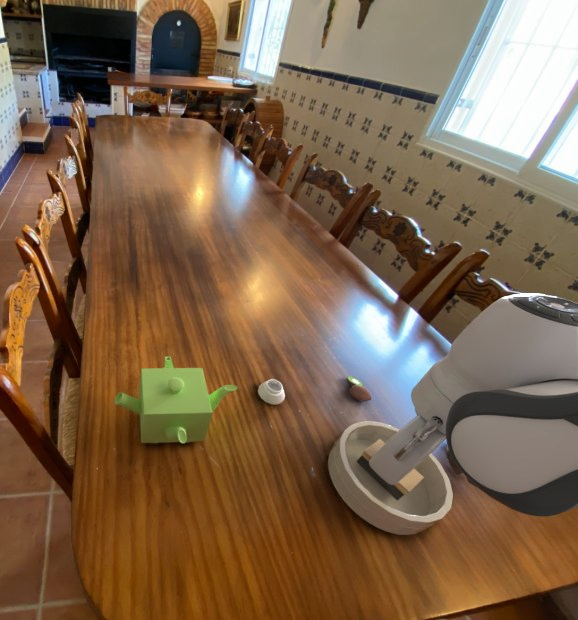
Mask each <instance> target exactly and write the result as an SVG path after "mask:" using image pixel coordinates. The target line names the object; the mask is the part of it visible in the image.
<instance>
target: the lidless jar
mask: <svg viewBox="0 0 578 620" xmlns="http://www.w3.org/2000/svg"><path fill="white" fill-rule="evenodd" d="M257 394H258V396H259V397H260V399H261V400H263V401H264V402H265V403H266V404H269V405H276V406H277V405H280V404H282V403H283V402H284V400H285V397H286V394H285V390H284V387H283V384H282V382H281V381H279V380H277V379H276V378H275V379H274V378H271V379H268V380H266V381H264V382H262V383H261V384H259V385H258V388H257Z"/></svg>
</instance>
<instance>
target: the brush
mask: <svg viewBox="0 0 578 620" xmlns="http://www.w3.org/2000/svg"><path fill="white" fill-rule="evenodd" d="M384 444H385V443H384V442H383V441H382V440H381V439H379V440H377V441H376V442H375V443H374V444H372V445H371V446H370V447H369V448H367V449H366V450H365V451H364V452H363V453H362V454H361V455H362V456H361V457H360V458H359V459H358V460H357V461H356V462H357V463H358V464H359V465H360V466H361V467H362V468H363V469H365V470H366V471H367V472H368V473H369V474H370V475H371V476H372V477H373V478H374V479H375V480H376V481H377V482H378V483H379V484H380V485H381V486H382V487H383V488H384V489H386V490H387V491H388V492H389V493H390V494H391V495H392V496H393V497H394V498H395V499H396V500H399V499H400V498H401V497H402V496H404V495H406V494H408V493H409V492H410V491H411V490H412V489H413V488H414V487H415V486H416V485H417V484H418V483H419V482H420V481H421V480H422V479H423V478H424V477H423V476H422V475H421V474H420V473H419V472H417V471H416V470H415V469H413V470H412V471H411V472H409V473H408V474H407V475H406V476H405V477H404V478H403V479H402V480H400V481H399V482H398V483H397V484H395V485H390V484H389V483H387V482H386V481H385V480H383V479H382V478H381V477H380V476H379V475H378V474H377V473H376V472H375V471H374V470H373V469H372V468H371V467H370V465H369V461H370V459H371V458H372V457H373V456H374V455H375V454H376V453H377V452H378V451H379V450H380V449H381V447H382V446H383V445H384Z"/></svg>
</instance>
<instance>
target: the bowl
mask: <svg viewBox="0 0 578 620" xmlns="http://www.w3.org/2000/svg"><path fill="white" fill-rule="evenodd" d="M399 430H400V428H398V427H395V426H392V425H389V424H386V423H383V422H379V421H372V420H371V421H370V420H365V421H359V422H354V423H352V424H351V425H349V426H348V427H346V428H345V429H343V431H342V433H341V434H340V435H339V437H338V438H337V439H336V440H335V442H334V444H333V446H332V447H331V449H330V450H329V453H328V459H327V468H328V472H329V476H330V479H331V482H332V485H333V487H334V488H335V490H336V492H337V493H338V495H339V496H340V497H341V499H342V501H343V502H344V503H345V504H346V505H347V506H348V507H349V508H350V510H352V511H353V512H354V513H355V514H356V515H357V516H358V517H360V518H361V519H363V520H364V521H366V522H367V523H368V524H370V525H372V526H374V527H375V528H377V529H379V530H382V531H384V532H387V533H390V534H395V535H398V536H399V535H400V536H410V535H411V536H413V535H416V534H419V533H421V532H423V531H426V530H427V529H429V528H431V526H433V525H435V524H436V523H438V522H439V521H440V520H442V519H443V518H444V517H445V516H446V515H447V514H448V513H449V512H450V511H451V509H452V504H453V497H454V492H453V489H452V485H451V481H450V480H451V479H450V478H449V477H448V475H447V472H445V471H446V470H445V469H444V468H443V466H442V464H441V463H440V461H439V460H438V458H436V456H434V454H433V452H431V453H430V454H429V455H428V456H427V457H426V458H425V459H424V460H423V461H422V462H421V463H419V464H418V465H417V466H416V467H415V468H414V469H415V470H416V471H417V472H419V473H420V474H421V475H422V476H423V477H424V478H423V479H422V480H421V481H420V482H419V483H418V484H417V485H416V486H415V487H414V488H413V489H412V490H411V491H410V492H409V493H408V494H406V495H404V496H402V497H401V498H400V499H399V500H396V499H395V498H394V497H393V496H392V495H391V494H390V493H389V492H388V491H387V490H386V489H384V488H383V487H382V486H381V485H380V484H379V483H378V482H377V481H376V480H375V479H374V478H373V477H372V476H371V475H370V474H369V473H368V472H367V471H366V470H365V469H363V468H362V467H361V466H360V465H359V464H358V463H357V462H356V461H357V460H358V459H359V458H360V457H361V456H362V455H361V454H362V453H363V452H364V451H365V450H366V449H367V448H369V447H370V446H371V445H372V444H374V443H375V442H376V441H377V440H379V439H381V440H382V441H383V442H384V443H386V442H387V441H388V440H389V439H390V438H391V437H392V436H393V435H395V434H396V433H397V432H398V431H399Z"/></svg>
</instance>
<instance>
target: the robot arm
mask: <svg viewBox="0 0 578 620" xmlns="http://www.w3.org/2000/svg"><path fill="white" fill-rule="evenodd" d="M410 399H411V403H412V405H413V407H414V412H415V414H416V416H414V417H413V419H411V420H410V421H409V422H407V423H406V424H405V425H404V426H402V427H401V428H399V431H398V432H397V433H396V434H395V435H393V436H392V437H391V438H390V439H389V440H388V441H387V442H386V443H385V444H384V445H383V446H382V447H381V449H380V450H379V451H378V452H377V453H376V454H375V455H374V456H373V457H372V458H371V459H370V461H369V465H370V467H371V468H372V469H373V470H374V471H375V472H376V473H377V474H378V475H379V476H380V477H381V478H382V479H383V480H385V481H386V482H387V483H389V484H390V485H395V484H397V483H398V482H399V481H400V480H402V479H403V478H404V477H405V476H406V475H407V474H408V473H409V472H411V471H412V470H413V469H414V468H415V467H416V466H417V465H418V464H419V463H421V462H422V461H423V460H424V459H425V458H426V457H427V456H428V455H429V454H430V453H433V452H434V451H435V450H436V449H437V448H438V447H439V446H440V445H441V444H443V442H445V441H446V445H447V447H448V449H449V452H450V454H451V456H452V458H453V460H454V462H455V463H456V465H457V466H458V468H459V469H460V470H461V472H462V473H461V474H463V475H464V476H465V477H466V479H467V478H468V479H469V480H470V481H471V482H472V483H473V484H474V485H476V486H477V487H476V486H475V487H476V488H478V489H479V490H481V491H482V492H483V493H484V494H486V495H487V496H488V497H490V498H492V499H494V500H495V501H497V502H498V503H500V504H502V505H503V506H505V507H507V508H509V509H512V510H514V511H515V512H519V513H521V514H524V515H528V516H533V517H552V516H557V515H561V514H563V513H567V512H569V511H572V510H574V509H577V508H578V302H576V301H573V300H570V299H567V298H563V297H561V296H560V297H559V296H554V295H548V294H544V293H517V294H510V295H505V296H503V297H501V298H498V299H497V300H496V301H494V302H493V303H491V304H490V305H488V306H487V307H486V308H485V309H484V310H483V311H481V312H480V313H479V314H478V315H477V316H476V317H475V318H474V319H473V320H472V321H471V322H470V323H469V324H468V325H467V326H466V327H465V328H463V330H462V331H461V332H460V333H459V334H458V336H457V337H455V339H454V340H453V341H452V343H451V345H450V349H449V351H448V352H447V354H446V355H445V356H444V357H442V358H440V359H439V360H436V362H434V364H432V365H431V367H430V368H429V369H428V371H426V373H424V374H423V376H422V377H421V378H420V380H419V381H417V383H416V384H415V385H414V387H412V389H411V391H410ZM474 485H473V486H474Z"/></svg>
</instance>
